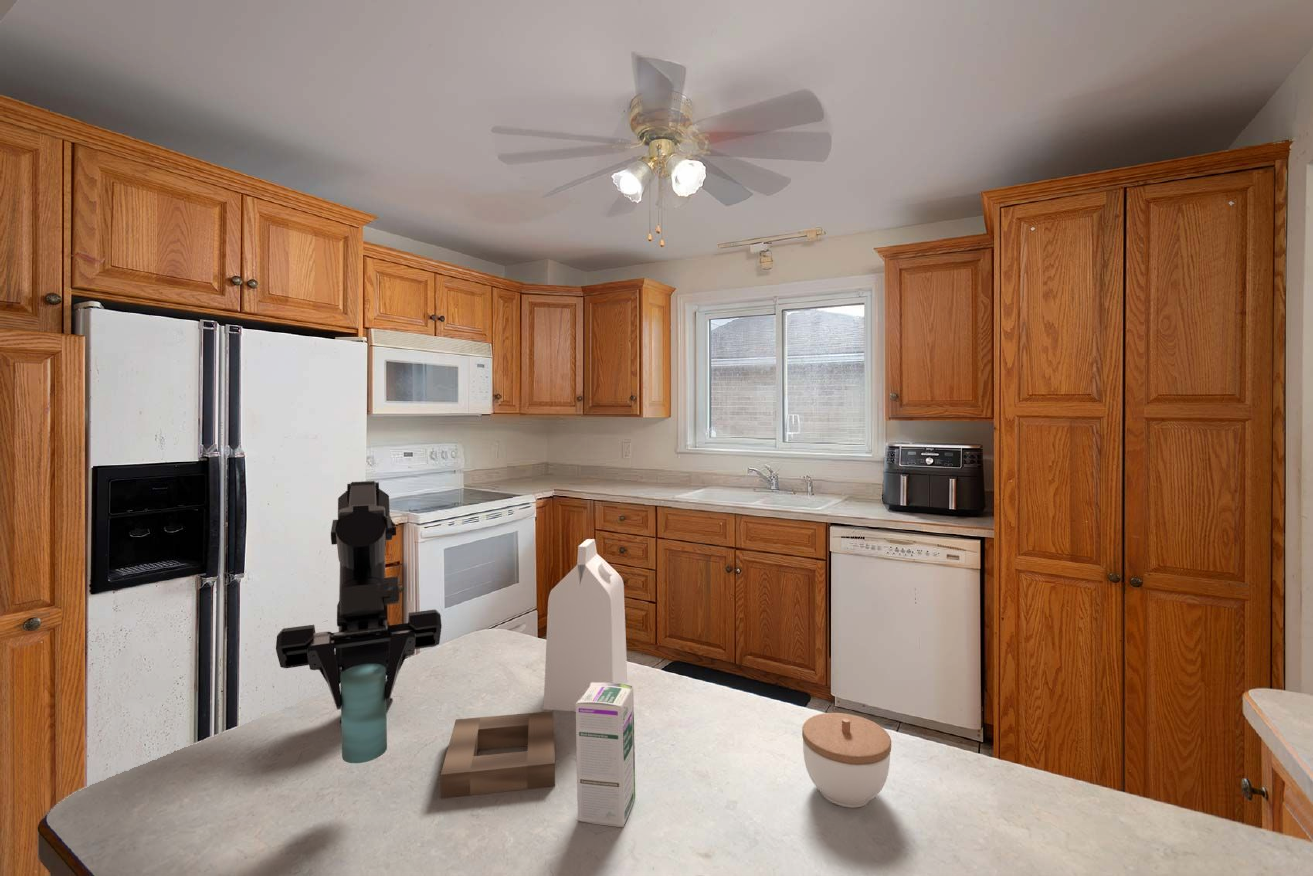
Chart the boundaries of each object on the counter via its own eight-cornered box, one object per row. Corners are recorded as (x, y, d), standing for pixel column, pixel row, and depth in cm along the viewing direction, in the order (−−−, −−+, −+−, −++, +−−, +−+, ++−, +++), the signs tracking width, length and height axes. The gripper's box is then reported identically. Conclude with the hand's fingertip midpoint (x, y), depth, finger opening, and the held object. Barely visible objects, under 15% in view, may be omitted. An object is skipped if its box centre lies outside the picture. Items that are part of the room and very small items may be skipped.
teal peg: (349, 743, 78) (347, 665, 78) (391, 739, 79) (389, 662, 79) (336, 765, 74) (334, 682, 73) (381, 761, 74) (379, 678, 74)
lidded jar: (889, 777, 82) (890, 707, 82) (891, 829, 72) (893, 749, 71) (805, 762, 86) (806, 695, 85) (796, 809, 75) (797, 733, 75)
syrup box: (624, 829, 72) (624, 705, 71) (575, 822, 73) (574, 701, 72) (635, 798, 77) (635, 684, 77) (590, 792, 79) (589, 680, 78)
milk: (564, 677, 112) (563, 534, 111) (627, 681, 111) (627, 536, 110) (543, 709, 100) (542, 549, 99) (613, 714, 99) (613, 551, 98)
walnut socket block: (456, 739, 91) (455, 719, 91) (552, 730, 94) (552, 711, 94) (441, 798, 77) (440, 774, 77) (555, 785, 80) (554, 763, 80)
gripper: (275, 563, 75) (264, 691, 66) (439, 549, 83) (449, 661, 73) (285, 609, 83) (276, 729, 73) (434, 592, 90) (443, 699, 81)
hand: (363, 703), depth 75 cm, fingers closed on teal peg, 5 cm apart
